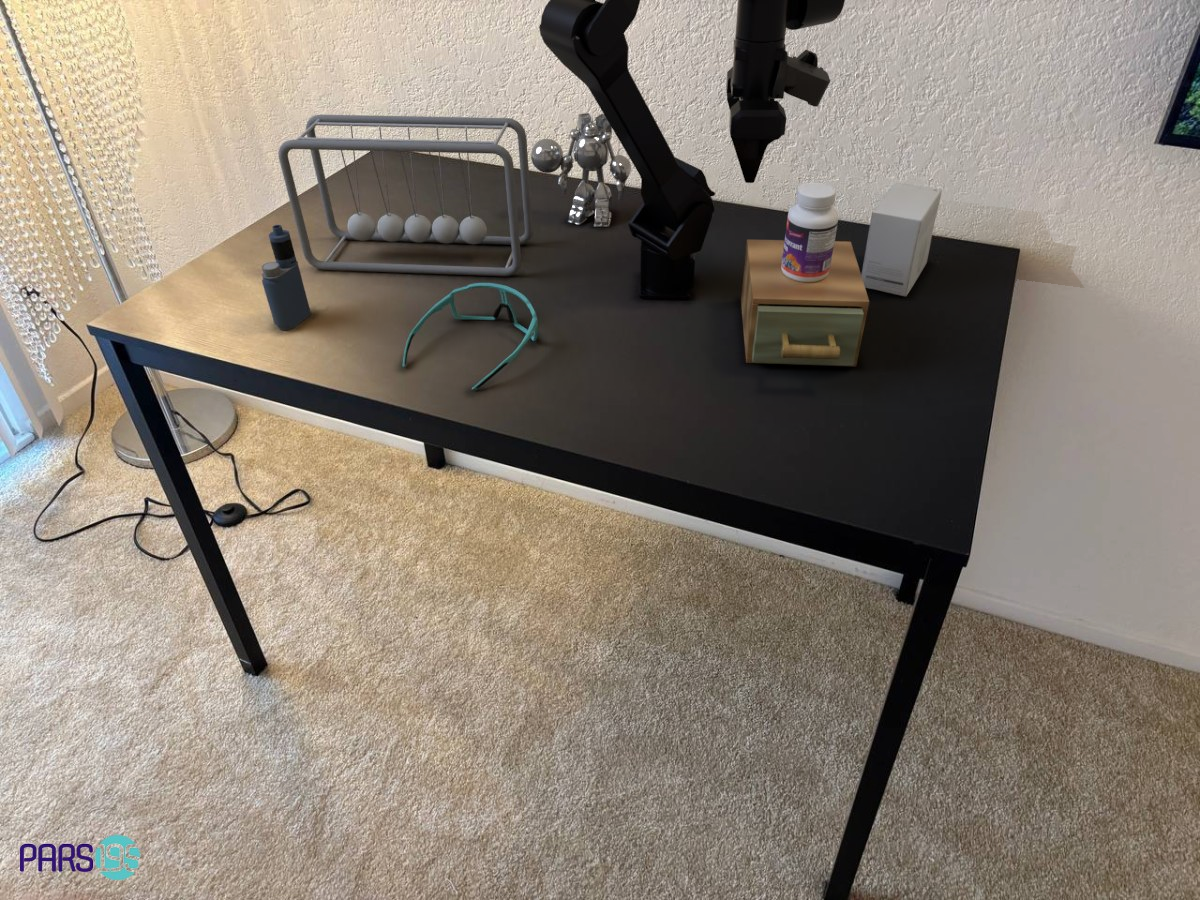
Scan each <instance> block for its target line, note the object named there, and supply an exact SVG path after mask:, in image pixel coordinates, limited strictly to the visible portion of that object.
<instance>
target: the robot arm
mask: <svg viewBox="0 0 1200 900" xmlns="http://www.w3.org/2000/svg"><path fill="white" fill-rule="evenodd" d="M845 2H846V0H737V10H736V24H735V25H736V26H735V35H734V39H733V47H732V49H733V63H732V67H731V68H730V69H729V70H727V71H726V81H725V82H726V84H725V90H726V101H727V105H728V109H729V135H730V139H731V141H732V145H733V148H734V150H735V154H736V157H737V160H738V163H739V167H740V170H741V174H742V176H743V181H744V182H745V183H746V184H753V183H755V181H756V178H757V175H758V172H759V170H760V167H761V164H762V161H763V158H764V155H765V153H766V150H767V148H768V146H769V145H770V144H771V143H773V142H774V141H778V140H779V139H780V138H782V136H785V133H786V127H787V126H786V125H787V114H786V110H785V108H784V106H782V104H781V103H780V102H779V101H778V100H780V99H781V100H783V99H785V98H784V96H785V94H787V95H788V96H792V97H793V98H796V99H799V100H801V101H804V102H806V103H807V104H808V105H809V106H811V107H814V108H817V107H819V105H820V103H821V101H822V99H823V97H824V96H825V93H826V92H827V89H828V87H829V85H830V83H831V78H830V76H829V73H828V71H826V70H825V69H824V67H822V66H820V67H819V66H818V65H819V57H818V54H817V53H815V52H813V51H811V50H808V49H804V50H803V51H802V52H801V53H800V54H799V55H798V56H795V55H793V56H789V53H788V51H787V50H786V47H787V46H786V42H785V41H786V33H787V32H786V31H787V29H788V30H790V31H796V30H800V29H805V28H810V27H811V28H812V27H815V26H819V25H823V24H830V23H832V22H834V21H836V19H838V17H840V15H841V13H842V11H843V9H844V7H845ZM640 3H641V0H605V1H604V2H601V1H597V0H549V1H548V2H547V3H546V5H545V6H544V9H543V12H542V14H541V20H540V24H539V26H538V28H539V29H538V30H539V34H540V37H541V39H542V41H543V43H544V45H545V46H546V47H547V48H548V49H549V50H550V51H551V53H552V54H553V55H554V56H555V57H556V59H558V60H559V62H560V63H561V64H562V65H563V66H564V67H565V68H567V69H568V70H569V71H570V72H571V73H572V74H573V75H574V76H575V77H577V78H578V79H579V80H580V81H581V82H582V83H583V84H584V85H585V86H586V87H587V88H588V89H589V91H590V94H591V95H592V96H593V98H594V100H595V102H596V103H597V105H598V107H599V108H600V111H601V112H602V114H604V115H605V117H606V119H607V120H608V122H609V124H610V125H611V127H612V131H613V132H614V134H615V135H616V137H617V139H618V140H619V142H620V144H621V145H622V147H623V149H624V151H625V152H626V154H627V156H628V158H629V159H630V162H631V163H632V164H633V166H634V168H635V170H636V171H637V174H638V175H639V176H640V179H641V182H640V183H641V184H640V195H641V198H642V203H641V204H640V206H639V208H638V209H637V211H636V212H635V213H634V214H633V216H632V217H631V219H630V220H629V222H628V228H629V231H630V234H631V236H632V237H633V238H636V239H638V240H640V241H641V242H640V268H639V269H640V270H639V271H640V272H639V273H640V275H639V276H640V278H639V285H638V298H640V299H660V300H661V299H663V300H666V299H667V300H688V299H690V296H691V295H690V289H693V288H694V284H695V269H696V268H695V265H696V253H699V252H701V251H702V248H703V245H704V242H705V239H706V237H707V233H708V230H709V229H710V225H711V222H712V220H713V219H712V218H713V214H714V212H715V209H716V208H715V202H714V199H713V198H712V197H714V196H716V192H714V191H713V190H712V189H711V188H710V187H709V184H708V181H707V177H706V175H705V173H704V172H703V170H702V169H700V168H698V167H696V166H694V165H692V164H690V163H688V162H686V161H684V160H682V159H680V158H678V157H676V156H675V155H674V153H673V151H672V149H671V147H670V145H669V144H668V142H667V140H666V138H665V136H664V133H662V131H661V128H660V127H659V125H658V123H657V121H656V119H655V118H654V115H653V114H652V111H651V110H650V108H649V106H648V104H647V102H646V101H645V99H644V97H643V95H642V93H641V91H640V89H639V88H638V86H637V83H636V82H635V80H634V78H633V76H632V74H631V73H630V69H629V66H628V65H629V44H628V42H627V41H628V40H627V38H626V35H625V32H626V31H627V30H628V28H629V27H630V25H631V24H632V22H633V21H634V20H635V18H636V16H637V14H638V10H639V6H640ZM775 99H777V100H775Z"/></svg>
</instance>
